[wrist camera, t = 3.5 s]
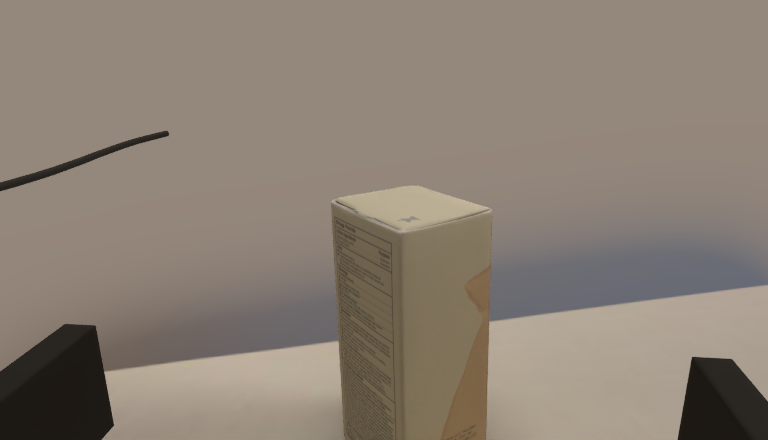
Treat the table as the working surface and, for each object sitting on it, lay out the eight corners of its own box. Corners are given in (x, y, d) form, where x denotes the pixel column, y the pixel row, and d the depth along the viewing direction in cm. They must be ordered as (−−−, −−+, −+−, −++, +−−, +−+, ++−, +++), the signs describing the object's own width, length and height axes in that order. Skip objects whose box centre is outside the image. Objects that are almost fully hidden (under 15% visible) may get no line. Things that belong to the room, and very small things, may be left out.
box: (488, 464, 24) (502, 209, 20) (402, 509, 22) (402, 232, 18) (415, 400, 28) (416, 180, 25) (337, 431, 26) (327, 195, 22)
